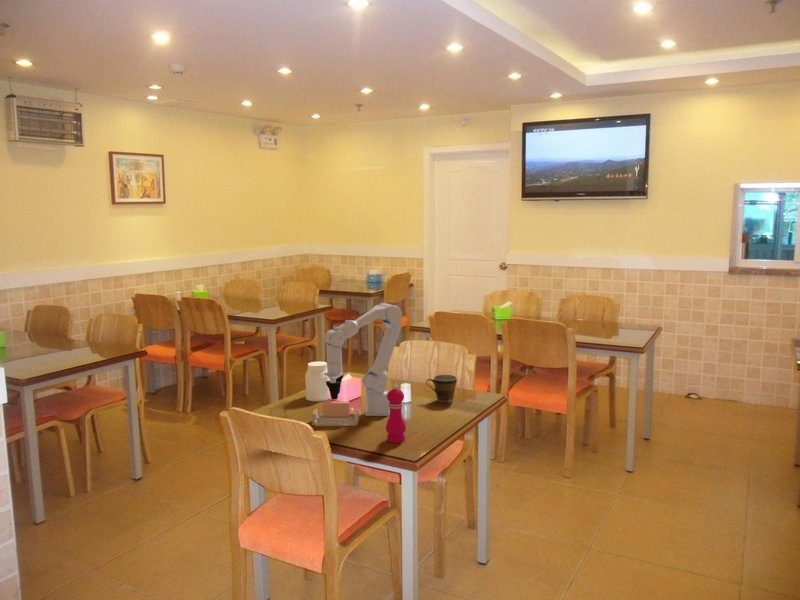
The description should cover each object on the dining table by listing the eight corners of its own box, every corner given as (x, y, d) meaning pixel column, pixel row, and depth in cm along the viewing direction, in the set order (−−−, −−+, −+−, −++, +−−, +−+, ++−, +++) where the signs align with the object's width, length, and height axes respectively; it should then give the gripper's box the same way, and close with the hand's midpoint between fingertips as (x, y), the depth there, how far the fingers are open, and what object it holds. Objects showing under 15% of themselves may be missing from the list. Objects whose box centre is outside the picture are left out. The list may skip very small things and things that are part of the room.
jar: (327, 401, 276) (326, 367, 274) (304, 401, 276) (303, 366, 274) (331, 393, 287) (330, 360, 285) (310, 393, 288) (309, 360, 286)
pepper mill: (406, 436, 233) (405, 382, 230) (406, 443, 226) (405, 387, 223) (386, 436, 233) (385, 382, 230) (385, 443, 226) (384, 387, 223)
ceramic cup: (457, 397, 279) (457, 374, 277) (456, 404, 269) (456, 381, 268) (427, 397, 280) (426, 374, 279) (425, 404, 270) (425, 380, 269)
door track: (359, 418, 253) (358, 407, 252) (357, 425, 245) (357, 414, 244) (315, 419, 253) (315, 408, 252) (312, 426, 245) (311, 414, 244)
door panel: (350, 418, 250) (349, 401, 249) (349, 420, 247) (349, 403, 246) (324, 419, 250) (323, 401, 249) (323, 421, 248) (322, 403, 247)
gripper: (326, 357, 254) (327, 391, 256) (321, 366, 240) (322, 402, 242) (344, 357, 254) (345, 390, 256) (340, 366, 240) (341, 401, 242)
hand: (335, 396), depth 249 cm, fingers open, 7 cm apart
